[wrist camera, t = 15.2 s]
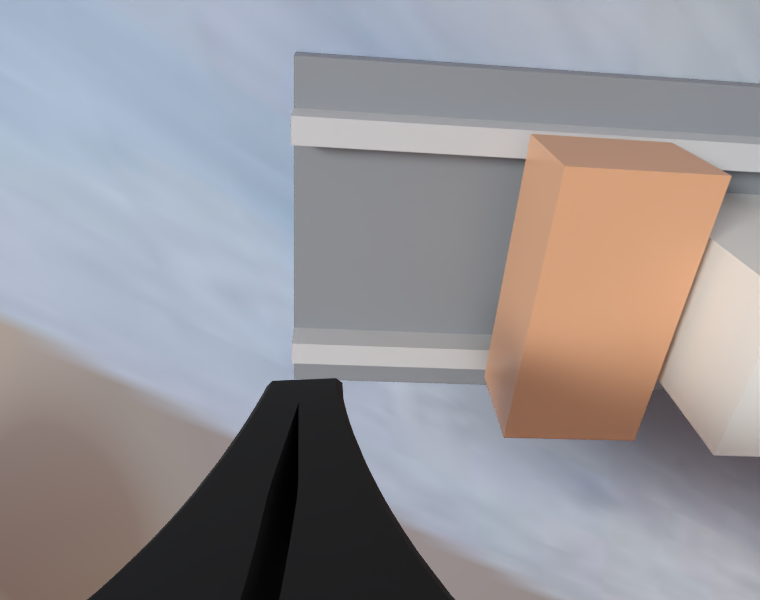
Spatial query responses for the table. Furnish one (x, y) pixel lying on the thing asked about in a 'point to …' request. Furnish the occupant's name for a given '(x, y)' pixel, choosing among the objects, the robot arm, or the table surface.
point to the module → (722, 336)
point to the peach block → (596, 282)
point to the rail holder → (452, 195)
